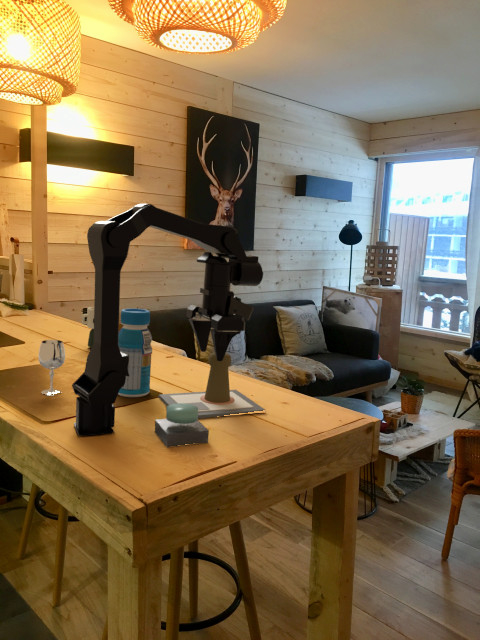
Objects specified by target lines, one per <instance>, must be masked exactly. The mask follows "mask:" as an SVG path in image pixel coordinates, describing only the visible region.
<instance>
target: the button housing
mask: <svg viewBox="0 0 480 640" xmlns="http://www.w3.org/2000/svg"><path fill="white" fill-rule="evenodd" d="M154 433H155V434H156V436H157V437H158V438H159V440H161V442H162V443H163V444H164V445H165V447H166V446H167V447H166V448H171V447H170V446H176V447H179V446H178V445H185V444H193V443H204V444H208V443H209V436H210V435H209V433H210V430H209V429H208V428H207V427H206V426H205V424H203V423H202V422H201V421H199V419H198V420H197V421H196V422H193V423H189V424H178V423H172V422H170V421H168V420H167V419H166V418H160V419H159V418H158V419H157V418H156V419H155V420H154ZM185 446H186V445H185Z"/></svg>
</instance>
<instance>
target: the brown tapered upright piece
mask: <svg viewBox="0 0 480 640" xmlns="http://www.w3.org/2000/svg"><path fill="white" fill-rule="evenodd" d="M231 363H232V356H231V355H230V354H229V353H227V352H226V353H225V356H224V358H223V360H222V361H217V358H216V354H215V351H214V352H211V353H210V354H209V356H208V364H209V366H210V369H209V373H208V378H207V383H206V388H205V392H206V393H205V398H204V399H205V400H207V401H209V402H214V403H225V402H228V401H230V390H231V389H230V378H229V377H230V376H229V367H230V366H231Z"/></svg>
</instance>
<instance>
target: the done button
mask: <svg viewBox="0 0 480 640" xmlns="http://www.w3.org/2000/svg"><path fill="white" fill-rule="evenodd" d="M165 410H166V414H165V419H167V420H168V421H170V422H172V423H178V424H189V423H193V422H196V421H197V420H198V421H199V419H198V407H196V406H194V405H191V404H185V403H177V404H171V405H169V406H166V409H165Z"/></svg>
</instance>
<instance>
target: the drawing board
mask: <svg viewBox="0 0 480 640" xmlns="http://www.w3.org/2000/svg"><path fill="white" fill-rule="evenodd" d="M205 393H206V391H193V392H190V391H189V392H177V393H164V394H163V393H162V394H160V393H159V394H158V399H159V400H160V401H161V402H162V403H163V404H164V405H165V406H166V407H167V406H169V405H171V404H177V403H185V404H191V405H194V406H196V407H198V420H200V419H202V418H203V419H210V418H209V417H215V418H218V417H217V416H224V415H230V414H239V413H248V412H254V411H263V410H266V409H265V408H264V407H262V406H261V405H260V404H258V403H257V402H255V401H253V400H252V399H251V398H249V397H248V396H246V395H245V394H244V393H242V392H240V391H239V390H237V389H230V401H228V402H225V403H214V402H209V401H207V400H205V399H204V398H205Z"/></svg>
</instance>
